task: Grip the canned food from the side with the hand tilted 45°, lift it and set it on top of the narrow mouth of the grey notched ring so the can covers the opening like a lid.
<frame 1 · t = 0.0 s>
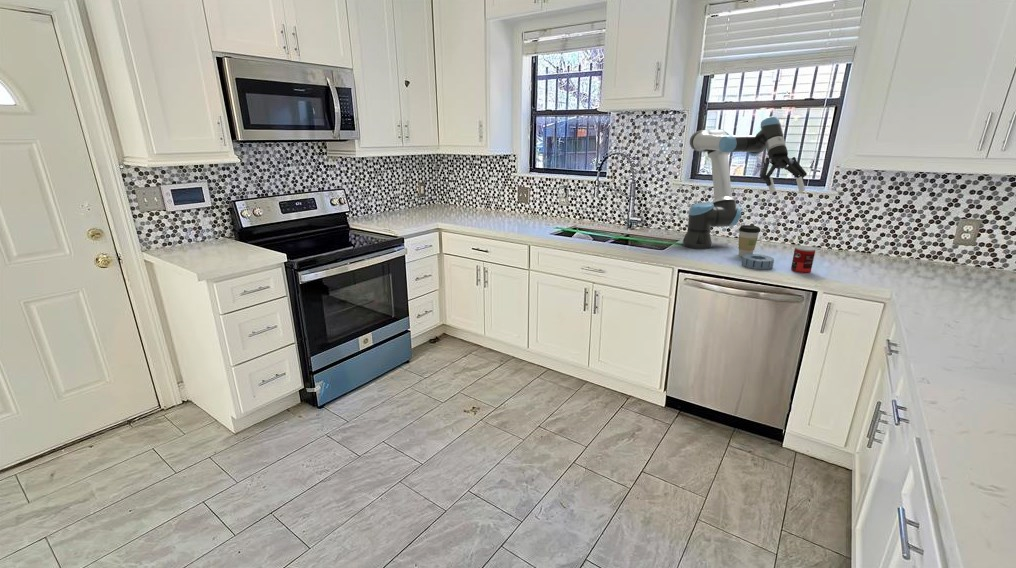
hand: (787, 191, 203), 36 cm above the worktop, tool tilted 35°, fingers open, 13 cm apart
grey notched ring: (756, 265, 222), on the worktop
canned food: (800, 271, 213), on the worktop
coffee cup: (745, 256, 238), on the worktop
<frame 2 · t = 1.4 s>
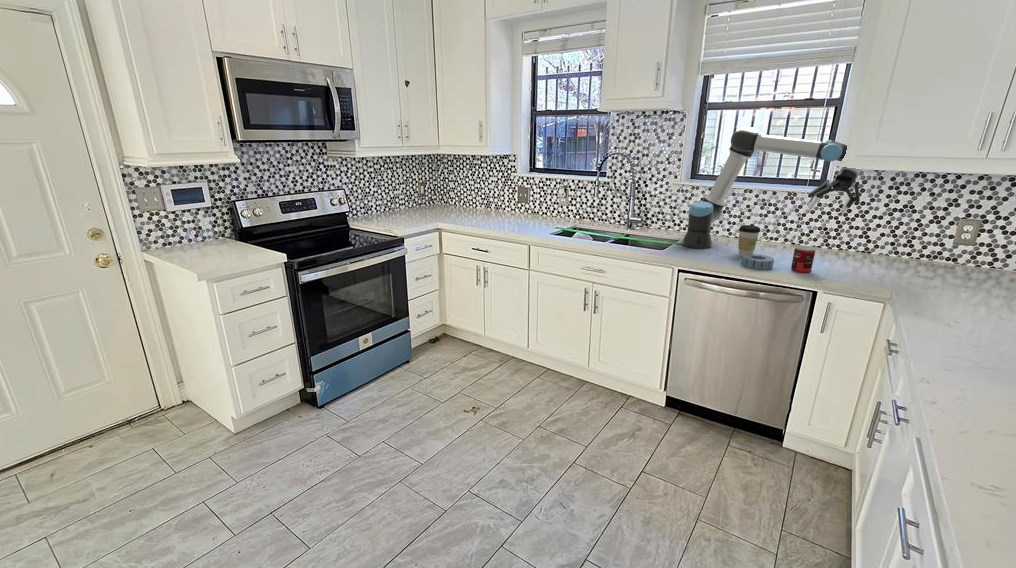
hand: (825, 210, 211), 27 cm above the worktop, tool tilted 45°, fingers open, 13 cm apart
nothing on the worktop moved.
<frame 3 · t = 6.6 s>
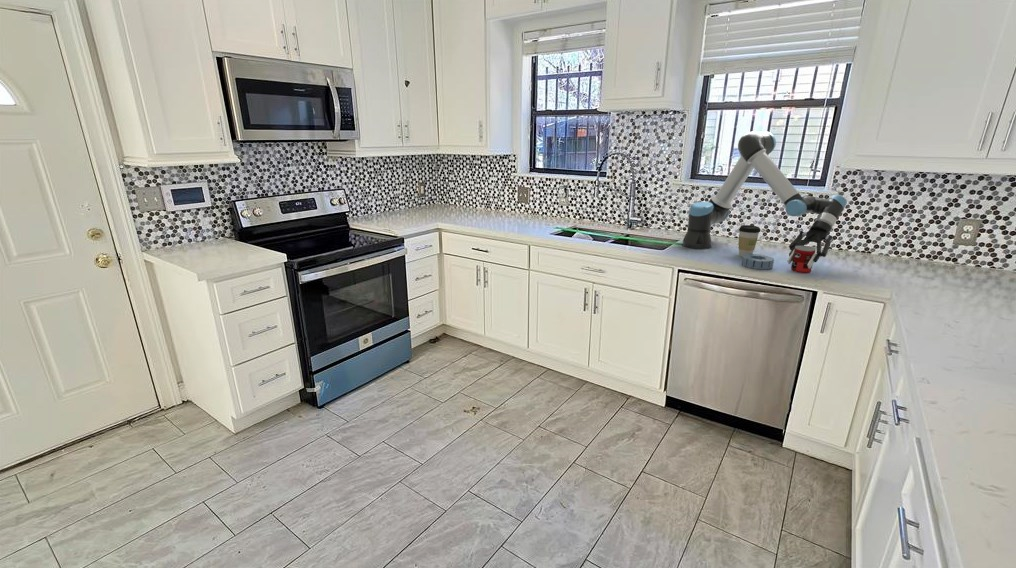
hand: (798, 264, 210), 4 cm above the worktop, tool tilted 45°, fingers closed on canned food, 8 cm apart
canned food: (800, 271, 213), on the worktop, touching gripper
everything else where it was.
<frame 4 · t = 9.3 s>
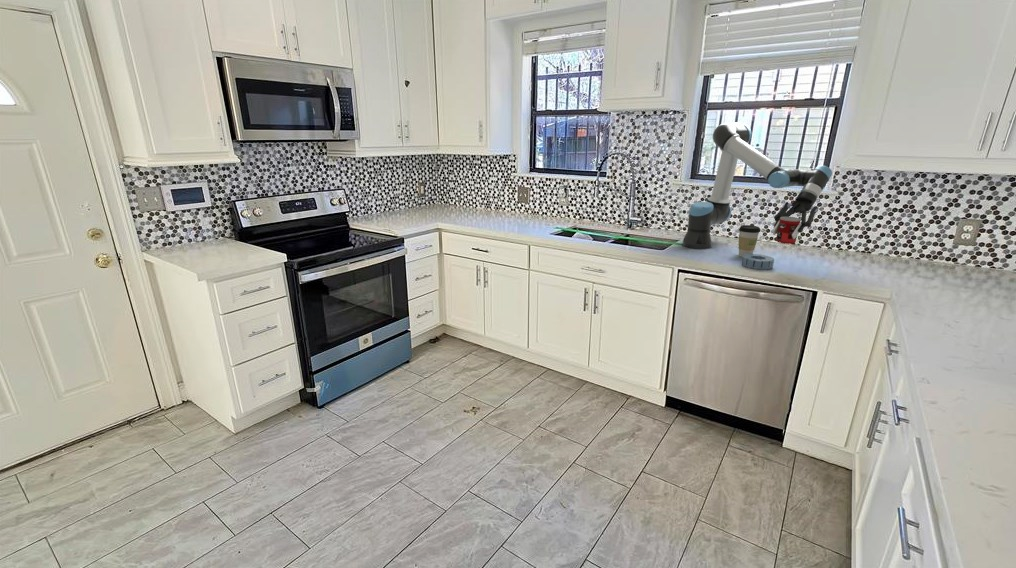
hand: (783, 235, 210), 16 cm above the worktop, tool tilted 45°, fingers closed on canned food, 8 cm apart
canned food: (785, 242, 213), point 13 cm above the worktop, touching gripper
everything else where it was.
when the fingers open (9 cm above the worktop, at t = 12.1 s): canned food drops 1 cm, resting on grey notched ring.
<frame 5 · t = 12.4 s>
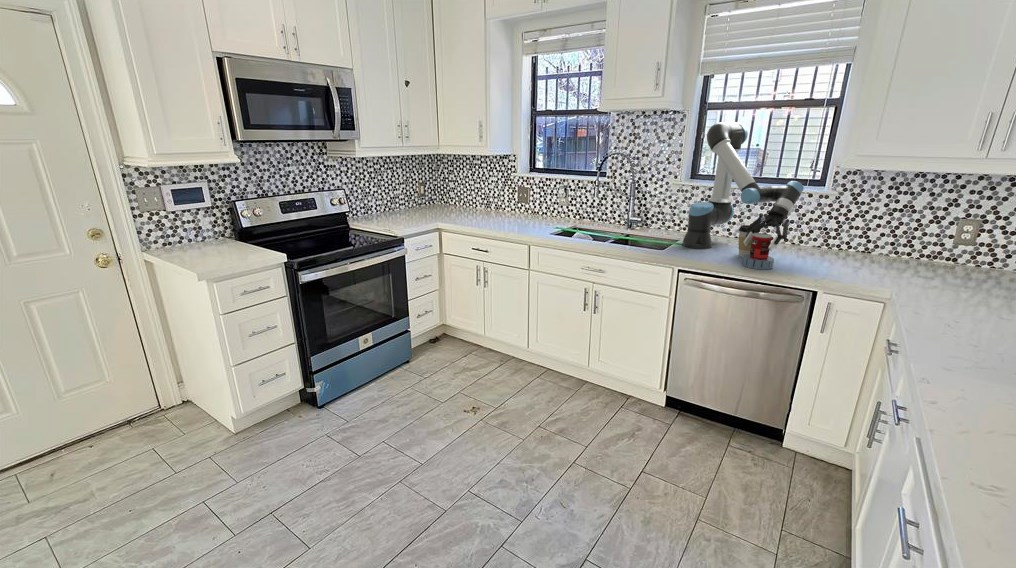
hand: (757, 246, 217), 10 cm above the worktop, tool tilted 45°, fingers open, 11 cm apart
canned food: (758, 257, 220), point 4 cm above the worktop, touching grey notched ring
everything else where it was.
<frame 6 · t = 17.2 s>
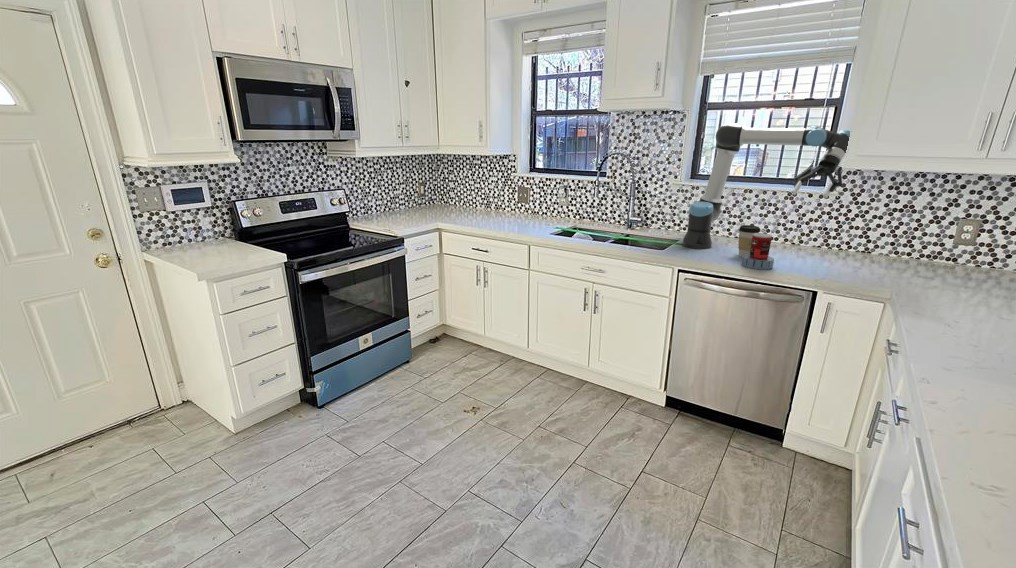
hand: (809, 194, 215), 33 cm above the worktop, tool tilted 45°, fingers open, 13 cm apart
nothing on the worktop moved.
at the end: canned food 0.1 cm off-centre on the grey notched ring, point 3.8 cm above the grey notched ring's base; canned food tilted 0°; the gripper is holding nothing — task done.
